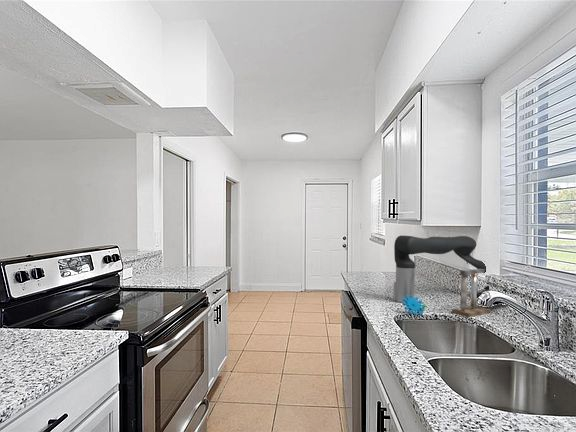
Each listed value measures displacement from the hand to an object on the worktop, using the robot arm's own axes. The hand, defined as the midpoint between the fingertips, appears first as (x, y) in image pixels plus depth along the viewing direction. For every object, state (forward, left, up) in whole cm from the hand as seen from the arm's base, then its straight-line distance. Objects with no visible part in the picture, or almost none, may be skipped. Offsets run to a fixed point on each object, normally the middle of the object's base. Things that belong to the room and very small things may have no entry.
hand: (475, 295), depth 171 cm
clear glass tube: (0, -1, -6) cm, 6 cm away
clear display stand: (-1, -3, -8) cm, 8 cm away
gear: (-18, -24, -8) cm, 31 cm away
